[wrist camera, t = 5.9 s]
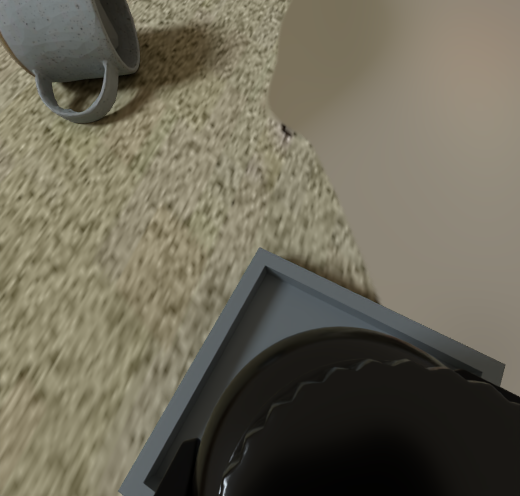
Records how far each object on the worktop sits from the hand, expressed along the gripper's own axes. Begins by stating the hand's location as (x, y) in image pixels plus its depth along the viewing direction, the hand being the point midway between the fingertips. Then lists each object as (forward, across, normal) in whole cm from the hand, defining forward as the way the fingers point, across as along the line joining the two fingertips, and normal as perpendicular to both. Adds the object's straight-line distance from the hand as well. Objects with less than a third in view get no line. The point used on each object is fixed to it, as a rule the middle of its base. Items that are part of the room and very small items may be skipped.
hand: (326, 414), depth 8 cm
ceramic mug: (+26, +10, -14) cm, 31 cm away
